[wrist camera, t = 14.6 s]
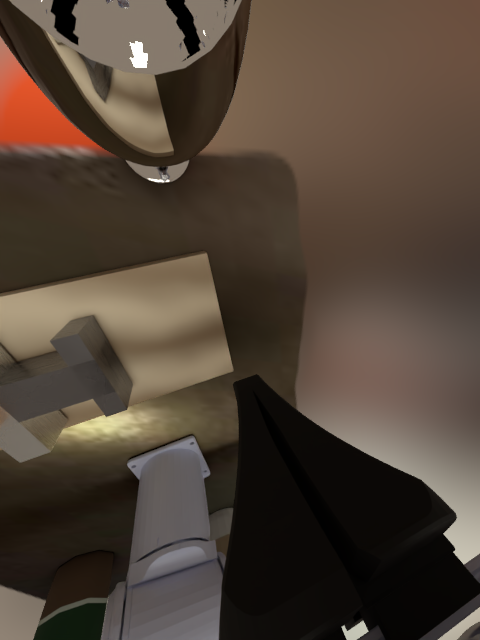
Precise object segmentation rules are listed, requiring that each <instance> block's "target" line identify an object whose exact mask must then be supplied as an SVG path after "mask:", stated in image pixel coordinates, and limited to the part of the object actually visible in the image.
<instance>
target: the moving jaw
mask: <svg viewBox="0 0 480 640" xmlns="http://www.w3.org/2000/svg"><path fill="white" fill-rule="evenodd" d="M50 342H51V344H52V345H53V346H54V348H55V349H56V350H57V351H56V352H52V353H49V354H45V355H41V356H37V357H34V358H30V359H26V360H23V361H19V362H15V361H14V360H13V359H12V358H11V356H10V355H9V354H8V353H7V352H6V351H5V350H4V349H3V348H2V347H1V345H0V448H1V449H3V450H4V451H5V452H7V453H8V454H9V455H11V456H12V457H13V458H15V459H16V460H17V461H18V462H23V461H26V460H29V459H32V458H35V457H37V456H40V455H43V454H46V453H49V452H51V451H52V449H53V447H54V445H55V443H56V441H57V439H58V437H59V435H60V433H61V432H62V430H63V428H64V426H65V424H66V422H67V420H68V419H67V418H66V417H65V416H64V415H63V414H62V413H61V412H60V411H59V410H60V409H63V408H66V407H69V406H72V405H75V404H78V403H81V402H85V401H88V400H91V399H93V400H94V401H95V402H96V404H97V405H98V406H99V408H100V409H101V411H102V412H103V413H104V415H105V416H106V417H107V416H110V415H113V414H116V413H119V412H122V411H125V410H127V408H128V404H129V400H130V396H131V391H132V387H133V383H132V381H131V380H130V378H129V376H128V374H127V373H126V371H125V369H124V367H123V366H122V364H121V362H120V360H119V359H118V357H117V355H116V353H115V352H114V350H113V348H112V346H111V345H110V343H109V341H108V340H107V338H106V336H105V334H104V333H103V331H102V329H101V327H100V326H99V324H98V322H97V320H96V319H95V317H94V315H91V316H87V317H83V318H79V319H75V320H71V321H69V322H68V323H67V324H66V325H65V326H64V327H63V328H62V329H61V330H60V331H59V332H58V333H57V334H56V335H55V336H54V337H53V338H52V339H51V340H50Z"/></svg>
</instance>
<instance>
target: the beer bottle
mask: <svg viewBox="0 0 480 640" xmlns="http://www.w3.org/2000/svg"><path fill="white" fill-rule="evenodd" d="M113 558H114V555H113V553H111V552H105V551H99V550H98V551H95V552H91V553H87V554H83V555H79V556H76V557H74V558H73V559H71V560H70V561H68V562H67V563H65V564H64V565H62V566H61V567H59V569H58V570H57V572H56V575H55V577H54V580H53V583H52V585H51V588H50V591H49V594H48V597H47V600H46V603H45V606H44V609H43V612H42V615H41V618H40V621H39V624H38V627H37V630H36V633H35V636H34V639H33V640H101V635H102V629H103V623H104V617H105V611H106V605H107V599H108V593H109V587H110V581H111V573H112V566H113Z"/></svg>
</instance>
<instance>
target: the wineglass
mask: <svg viewBox="0 0 480 640" xmlns="http://www.w3.org/2000/svg"><path fill="white" fill-rule="evenodd" d="M251 1H252V0H0V36H1V38H2V39H3V41H4V42H5V44H6V45H7V47H8V48H9V49H10V51H11V52H12V54H13V55H14V56H15V58H16V59H17V60H18V62H19V63H20V65H21V66H22V67H23V69H24V70H25V71H26V72H27V74H28V75H29V76H30V77H31V79H32V80H33V81H34V82H35V83H36V85H37V86H38V87H39V88H40V90H41V91H42V92H43V93H44V94H45V96H46V97H47V98H48V99H49V100H50V101H51V102H52V103H53V104H54V105H55V106H56V108H57V109H58V110H59V111H60V112H61V113H62V114H63V115H64V116H65V117H66V118H67V119H68V120H69V121H70V122H71V123H72V124H73V125H74V126H75V127H76V128H77V129H79V130H80V131H81V132H82V133H84V134H85V135H86V136H87V137H88V138H90V139H91V140H92V141H94V142H95V143H97V144H98V145H99V146H101V147H102V148H104V149H105V150H107V151H109V152H111V153H113V154H115V155H116V156H118V157H120V158H122V159H124V160H125V161H126V162H127V164H128V165H129V166H130V167H131V168H132V170H134V171H135V172H136V173H137V174H138V175H139V176H141V177H142V178H144V179H146V180H148V181H151V182H154V183H159V184H166V183H171V182H173V181H175V180H177V179H178V178H180V177H181V176H182V175H183V173H184V172H185V171H186V169H187V167H188V164H189V161H190V159H191V158H193V157H194V156H196V155H197V154H198V153H199V152H200V151H202V150H203V149H204V148H205V147H206V146H207V145H208V144H209V143H210V141H211V140H212V139H213V138H214V136H215V135H216V133H217V131H218V130H219V128H220V126H221V124H222V122H223V120H224V118H225V116H226V114H227V111H228V109H229V106H230V103H231V101H232V98H233V95H234V92H235V88H236V84H237V80H238V76H239V72H240V68H241V64H242V60H243V54H244V49H245V43H246V38H247V32H248V25H249V17H250V9H251Z"/></svg>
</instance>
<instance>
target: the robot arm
mask: <svg viewBox="0 0 480 640" xmlns="http://www.w3.org/2000/svg"><path fill="white" fill-rule="evenodd" d="M233 387H234V391H235V395H236V399H237V405H238V418H239V451H238V468H237V480H236V491H235V500H234V507H233V515H232V523H231V530H230V537H229V543H228V549H227V555H226V557H225V555H224V554H223V553H222V552H217V550H216V543H215V540H212V541H209V536H210V523H209V515H208V508H207V500H206V492H205V484H204V478H205V477H207V476H209V475H210V470H209V468H208V466H207V464H206V461H205V459H204V457H203V455H202V452H201V450H200V448H199V446H198V443H197V441H196V439H195V437H194V436H189V437H186V438H184V439H181V440H179V441H176V442H173V443H171V444H168V445H166V446H163V447H160V448H158V449H155V450H153V451H150V452H148V453H145V454H142V455H140V456H137V457H135V458H132V459H130V460H129V461H128V463H127V466H128V467H129V468H130V469H131V471H132V472H133V473H134V474H135V475H136V477H137V478H138V479H139V480H140V481H139V490H138V498H137V506H136V514H135V522H134V531H133V539H132V547H131V555H130V563H129V570H128V574H127V578H126V582H119V583H118V584H117V585H116V588H115V590H114V591H113V592H112V593H111V595H110V596H109V598H108V603H107V608H106V614H105V620H104V625H103V631H102V637H101V640H346V638H345V635H344V633H343V630H342V628H341V627H342V626H343V625H345V627H346V629H347V631H348V630H350V629H351V628H352V627H354V626H355V625H357V624H358V623H360V622H361V621H364V623H365V624H366V627H367V629H368V631H369V632H367V633H366V634H364V635H363V636H362V637H360V638H359V639H357V640H437V639H439V638H440V637H441V636H443V635H444V634H445V633H447V632H448V631H449V630H450V629H452V628H453V627H454V626H456V625H457V624H458V623H459V622H461V621H462V620H463V619H465V618H466V617H467V616H468V615H470V614H471V613H472V612H474V611H475V610H476V609H478V608H479V607H480V554H479V555H477V556H476V557H474V558H473V559H472V560H470V561H469V562H467V563H466V564H464V565H463V563H462V562H461V561H460V560H459V559H458V558H457V556H456V555H455V554H454V553H453V551H455V548H454V546H453V545H452V544H451V543H450V541H449V540H448V539H447V538H446V537H445V536H444V534H443V533H444V532H445V531H446V530H447V529H448V528H449V527H450V526H451V525H452V524H453V523H454V522H455V520H456V518H457V517H456V513H455V512H454V511H453V510H452V509H451V508H450V507H449V506H448V505H447V504H446V503H445V502H444V501H443V500H442V499H441V498H440V497H439V496H438V495H437V494H436V493H435V492H434V491H433V490H432V489H431V488H429V487H428V486H427V485H426V484H425V483H424V482H423V481H422V480H420V479H418V478H416V477H414V476H412V475H409V474H407V473H405V472H403V471H401V470H398V469H396V468H394V467H392V466H390V465H388V464H386V463H383V462H382V461H380V460H378V459H376V458H374V457H372V456H370V455H368V454H366V453H364V452H362V451H361V450H359V449H357V448H355V447H353V446H352V445H350V444H348V443H346V442H344V441H343V440H341V439H339V438H337V437H336V436H334V435H333V434H331V433H329V432H328V431H326V430H325V429H323V428H321V427H320V426H319V425H317V424H315V423H314V422H313V421H311V420H309V419H308V418H307V417H306V416H304V415H302V413H300V412H299V411H298V410H296V409H295V408H294V407H292V406H291V405H290V404H289V403H288V402H286V401H285V400H284V399H283V398H282V397H280V396H279V395H278V394H277V393H276V392H275V391H274V390H273V389H272V388H270V387H269V386H268V385H267V384H266V383H265V382H264V381H263V380H262V379H261V377H260V376H259V375H257V374H256V375H254V376H251V377H248V378H245V379H242V380H239V381H236V382H234V384H233ZM457 640H480V622H478V623H476V624H474V625H473V626H471V627H470V628H469V629H468V630H466V631H465V632H464V633H463V634H462V635H461V636H460V638H459V639H457Z"/></svg>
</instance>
